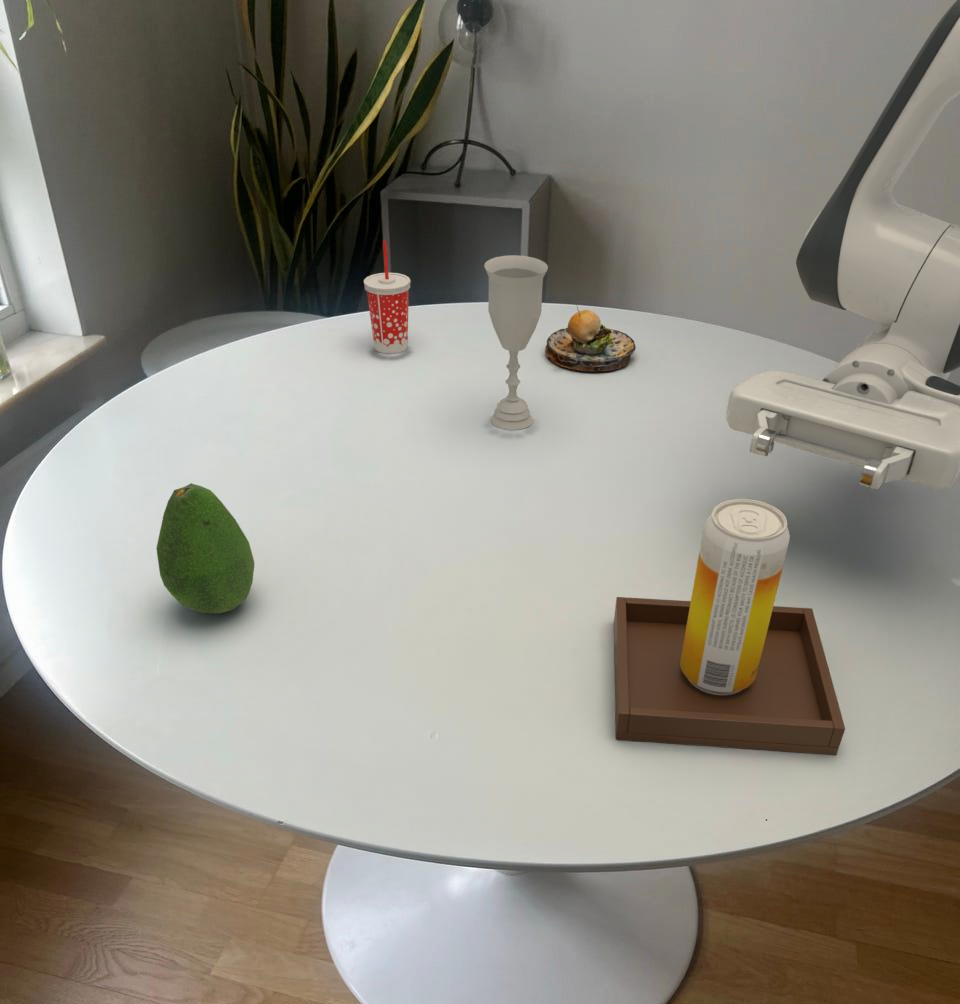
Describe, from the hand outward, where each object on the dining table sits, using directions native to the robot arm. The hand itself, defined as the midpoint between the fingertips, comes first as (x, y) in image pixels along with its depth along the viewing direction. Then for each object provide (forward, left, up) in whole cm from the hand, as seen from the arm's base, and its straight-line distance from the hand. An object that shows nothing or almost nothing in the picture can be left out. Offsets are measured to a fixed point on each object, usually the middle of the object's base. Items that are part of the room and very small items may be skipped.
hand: (812, 462), depth 79 cm
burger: (+18, -52, -14) cm, 57 cm away
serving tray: (+7, +13, -14) cm, 20 cm away
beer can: (+7, +12, -13) cm, 19 cm away
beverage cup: (+45, -52, -14) cm, 70 cm away
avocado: (+51, +7, -14) cm, 53 cm away
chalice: (+27, -32, -14) cm, 44 cm away
